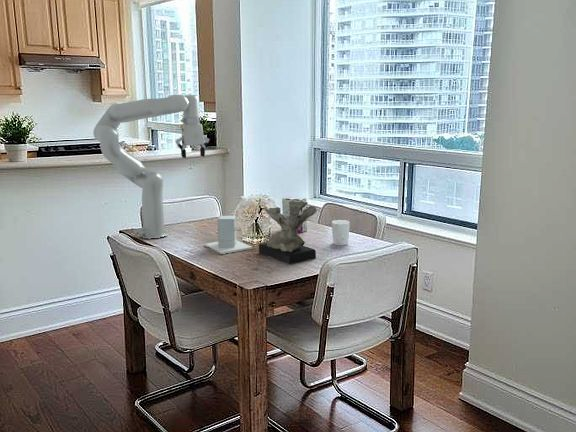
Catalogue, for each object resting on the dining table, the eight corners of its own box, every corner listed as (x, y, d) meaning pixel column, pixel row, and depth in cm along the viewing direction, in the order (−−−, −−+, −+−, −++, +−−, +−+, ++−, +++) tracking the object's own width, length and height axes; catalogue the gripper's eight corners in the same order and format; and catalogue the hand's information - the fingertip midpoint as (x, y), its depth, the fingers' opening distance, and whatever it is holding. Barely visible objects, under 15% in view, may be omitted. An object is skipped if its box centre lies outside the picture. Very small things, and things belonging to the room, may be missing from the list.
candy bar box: (307, 231, 279) (307, 198, 276) (302, 233, 275) (302, 199, 272) (287, 228, 285) (286, 196, 281) (282, 230, 281) (281, 197, 277)
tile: (221, 254, 240) (221, 252, 240) (204, 246, 254) (204, 243, 254) (252, 249, 248) (252, 246, 248) (233, 240, 262) (233, 238, 262)
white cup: (348, 246, 251) (348, 224, 249) (330, 245, 252) (330, 223, 250) (350, 241, 258) (350, 220, 256) (332, 241, 260) (333, 219, 258)
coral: (254, 251, 245) (253, 202, 241) (292, 243, 257) (292, 196, 252) (287, 265, 225) (287, 211, 221) (328, 256, 237) (328, 205, 232)
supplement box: (234, 247, 248) (233, 219, 245) (217, 247, 248) (216, 219, 245) (237, 243, 255) (236, 215, 252) (220, 242, 255) (219, 215, 253)
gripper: (177, 122, 266) (179, 159, 269) (211, 120, 275) (212, 156, 279) (171, 121, 272) (173, 157, 275) (204, 120, 281) (206, 155, 285)
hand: (193, 157), depth 277 cm, fingers open, 9 cm apart
